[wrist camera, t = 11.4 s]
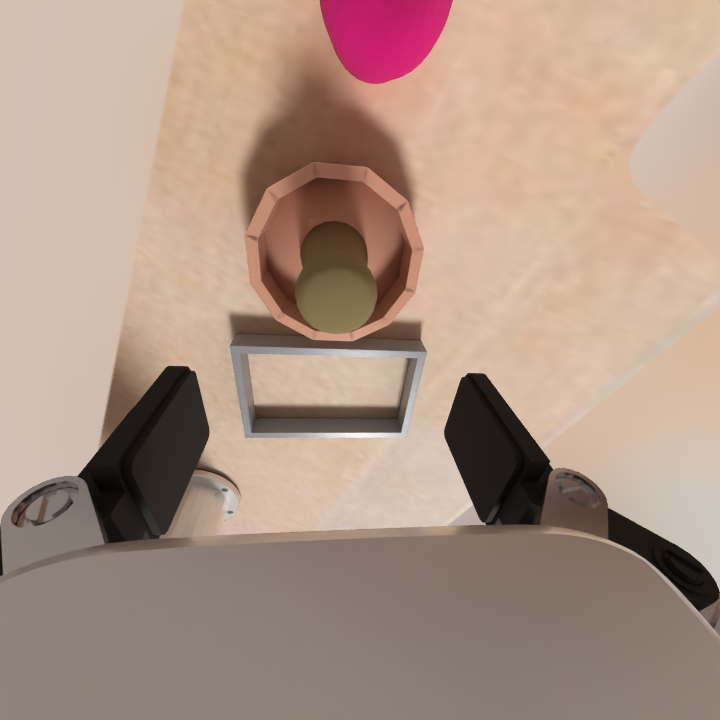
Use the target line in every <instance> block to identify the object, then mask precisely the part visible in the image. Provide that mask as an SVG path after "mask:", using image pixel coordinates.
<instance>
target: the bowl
mask: <svg viewBox="0 0 720 720" xmlns="http://www.w3.org/2000/svg"><path fill="white" fill-rule="evenodd" d="M327 221H339V222H343V223H347V224H348V225H350V226H352V227H353V228H355V229H356V230H357V231H358V232H359V234H360V235H361V236H362V237H363V239H364V241H365V244H366V247H367V253H368V264H367V267H368V268H369V269H370V270H371V272H372V275H373V277H374V280H375V282H376V285H377V300H376V304H375V307H374V311H373V313H372V314H371V316H370V317H369V319H368V320H367V322H365V323H364V324H363V325H362V326H361V327H359V328H358V329H356V330H353V331H351V332H349V333H344V334H330V333H324V332H322V331H320V330H318V329H316V328H314V327H312V326H311V325H310V324H309V323H308V322H307V321H306V320H305V319H304V318H303V316H302V314H301V312H300V311H299V309H298V307H297V302H296V297H295V289H296V281H297V278H298V276H299V274H300V272H301V270H302V262H301V257H300V253H301V246H302V243H303V241H304V239H305V236H306V234H307V233H308V232H309V231H310V230H311V229H312V228H313V227H315V226H317V225H319V224H321V223H323V222H327ZM245 242H246V251H247V260H248V269H249V278H250V284H251V285H252V287H253V288H254V290H255V291H256V292H257V294H258V295H259V297H260V298H261V300H262V301H263V302H264V304H265V305H266V307H267V308H268V310H269V311H270V312H271V314H272V315H273V317H274V318H275V320H277V321H278V322H280V323H282V324H284V325H286V326H288V327H290V328H291V329H293V330H295V331H297V332H299V333H301V334H303V335H305V336H306V337H308V338H310V339H312V340H329V341H355V340H357V339H359V338H361V337H363V336H366V335H368V334H370V333H372V332H375V331H377V330H379V329H381V328H383V327H386V326H388V325H390V323H391V322H392V321H393V320H394V318H395V317H396V316H397V315H398V313H399V312H400V311H401V310H402V308H403V307H404V306H405V305H406V303H407V302H408V301H409V300H410V298H411V297H412V296H413V295H414V293H415V291H416V286H417V281H418V276H419V270H420V265H421V260H422V255H423V250H424V247H423V244H422V241H421V238H420V235H419V232H418V229H417V226H416V223H415V220H414V217H413V214H412V211H411V208H410V205H409V202H408V201H407V200H406V199H405V198H404V197H403V196H402V195H400V194H399V193H398V192H397V191H396V190H394V189H393V188H392V187H391V186H390V185H388V184H387V183H386V182H385V181H384V180H382V179H381V178H380V177H379V176H378V175H377V174H375V173H374V172H373V171H372V170H371V169H369V168H368V167H363V166H354V165H344V164H334V163H324V162H315V161H313V162H311V163H310V164H308V165H306V166H305V167H303V168H301V169H299V170H298V171H296V172H294V173H292V174H291V175H289V176H287V177H285V178H284V179H282V180H280V181H279V182H277V183H275V184H273V185H272V186H270V187H268V188H267V189H266V191H265V193H264V195H263V197H262V200H261V202H260V204H259V206H258V208H257V210H256V212H255V214H254V216H253V219H252V221H251V223H250V225H249V227H248V229H247V231H246V233H245Z"/></svg>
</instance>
